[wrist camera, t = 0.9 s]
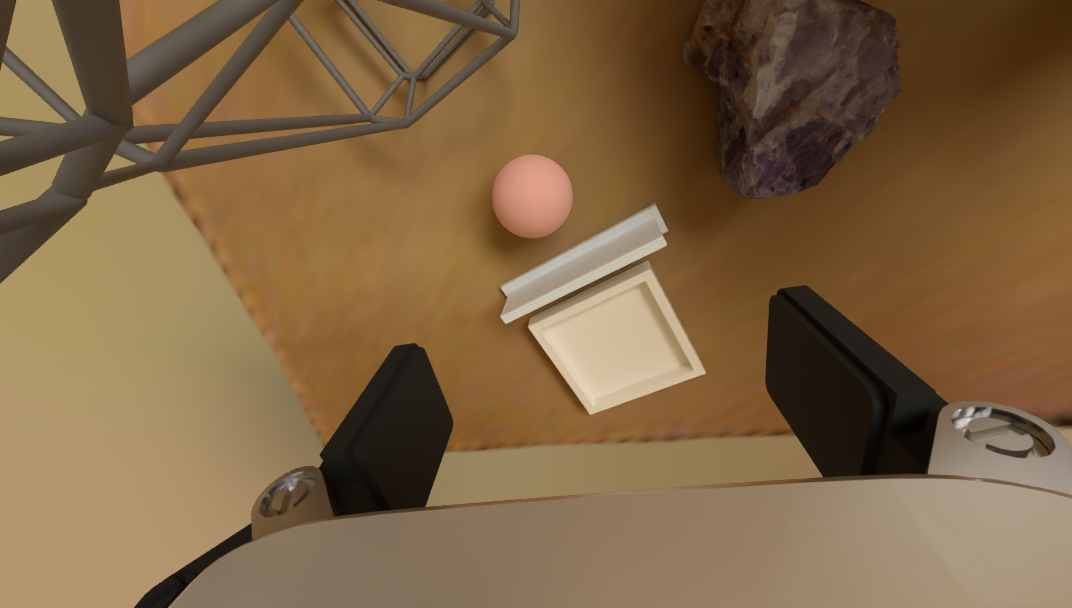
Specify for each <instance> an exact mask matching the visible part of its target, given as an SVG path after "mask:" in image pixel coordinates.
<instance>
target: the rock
mask: <svg viewBox="0 0 1072 608" xmlns="http://www.w3.org/2000/svg"><path fill="white" fill-rule="evenodd" d="M895 24H896V19H895V18H894V17H893V16H892V15H891V14H889V13H887V12H885V11H882V10H879V9H876V8H874V7H872V6H870V5H868V4H866V3H864V2H862V1H860V0H706V1H705V2H704V4H703V5H702V7H701V11H700V14H699V16H698V19H697V21H696V24H695V26H694V31H693V33H692V35H691V37H690V38H689V39H688V40H687V42H686V43H685V44H684V45H683V48H684V50H683V58H684V61H685V64H686V65H687V66H691V67H693V68H695V69H697V70H699V71H701V72H703V73H705V74H706V75H708V77H709V79H711V80H713V81H715V82H717V83H718V84H719V90H720V101H719V107H718V110H717V115H716V119H717V122H718V125H719V129H720V132H721V133H720V142H719V144H718V145H717V156H718V160H719V171H720V173H721V176H722V177H723V178H724V179H725V181H726V182H727V184H728V186H729V187H731V188H732V190H733V191H734V192H735V193H739V194H740V195H743V196H747V197H751V198H754V199H762V200H767V199H769V198H771V197H773V196H782V195H789V194H793V193H797V192H800V191H803V190H805V189H807V188H810V187H812V186H815V185H817V184H818V183H819V182H820V181H821V180H822V179H823V178H824V177H825V175H826V174H827V173H828V171H829V170H830V169H831V168H832V166H833V165H834V164H835V163H838V162H840V161H841V160H843V159H844V157H845V155H846V153H847V152H848V151H849V150H850V149H851V147H852V146H853V145H854V144H856V143H857V142H858V141H860V140H863V139H865V138H866V137H867V136H868V134H869V133H870V132H871V131H872V129H873V128H874V126H875V125H876V123H877V122H878V120H879V119H880V117H881V115H882V114H883V112H884V110H885V109H886V107H887V106H888V104H889V103H890V101H891V100H892V99H893V98H894V97H895V96H896V95H898V94H899V93H900V92H901V91H902V89H901V81H900V76H899V75H898V74H897V71H898V69H899V66H898V65H897V59H898V56H897V50H898V48H899V46H900V45H899V42H898V40H897V39H896V38H895V34H896V31H897V29H895Z"/></svg>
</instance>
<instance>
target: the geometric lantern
mask: <svg viewBox="0 0 1072 608" xmlns="http://www.w3.org/2000/svg"><path fill="white" fill-rule="evenodd" d="M302 1H303V0H219V1H217V2H216V3H214V4H213V5H211V6H210V7H208V8H206V9H205V10H203V11H202V12H200V13H199V14H197V15H196V16H194V17H192V18H191V19H189V20H188V21H186V22H185V23H183V24H182V25H180V26H179V27H177V28H175V29H174V30H172V31H171V32H169V33H168V34H166V35H165V36H163V37H162V38H160V39H158V40H157V41H155V42H154V43H152V44H151V45H149V46H148V47H146V48H144V49H143V50H141V51H140V52H138V53H137V54H135V55H134V56H132V57H131V58H129V59H127V60H126V54H125V46H124V37H123V29H122V20H121V12H120V3H119V0H52V2H53V6H54V9H55V12H56V15H57V18H58V21H59V24H60V27H61V30H62V34H63V37H64V40H65V43H66V46H67V49H68V52H69V55H70V58H71V61H72V64H73V67H74V71H75V74H76V77H77V80H78V83H79V86H80V89H81V92H82V95H83V98H84V101H85V105H86V110H85V112H84V114H83V116H82V117H81V116H80V115H79V114H78V113H77V112H76V111H75V110H74V109H72V108H71V107H70V106H69V105H68V104H67V103H66V102H65V101H64V100H63V99H62V98H61V97H60V96H59V95H58V94H56V93H55V92H54V91H53V90H52V89H51V88H50V87H49V86H48V85H47V84H46V83H45V82H44V81H43V80H42V79H41V78H39V77H38V76H37V75H36V74H35V73H34V72H33V71H32V70H31V69H30V68H29V67H28V66H27V65H26V64H24V63H23V62H22V61H21V60H20V59H19V58H18V57H17V56H16V55H15V54H14V53H13V52H12V51H11V50H10V49H8V48H7V47H6V43H7V39H8V35H9V30H10V25H11V21H12V17H13V12H14V8H15V4H16V0H0V69H1V65H2V62H3V63H4V64H5V65H6V66H7V67H8V68H9V69H11V70H12V71H13V72H14V73H15V74H16V75H17V76H18V77H19V78H20V79H21V80H23V81H24V82H25V83H26V84H27V85H28V86H29V87H30V88H31V89H32V90H34V92H36V93H37V94H38V95H39V96H40V97H41V98H42V99H43V100H44V101H45V102H46V103H47V104H49V105H50V106H51V107H52V108H53V109H54V110H55V111H56V112H57V113H58V114H59V115H60V116H62V117H63V118H64V119H65V120H66V121H67V122H66V123H62V124H60V123H50V122H42V121H32V120H24V119H15V118H6V117H0V135H2V136H14V138H11V139H7V140H4V141H0V176H2V175H5V174H8V173H11V172H14V171H17V170H19V169H22V168H25V167H28V166H31V165H34V164H37V163H40V162H43V161H45V160H49V159H51V158H54V157H57V156H60V155H63V154H65V156H64V158H63V160H62V162H61V165H60V167H59V169H58V171H57V174H56V176H55V178H54V180H53V182H52V186H51V187H50V188H49V189H47V190H46V191H45V192H44V193H43V194H42V195H41V196H40V197H39V198H37V199H36V200H32V201H29V202H26V203H23V204H20V205H17V206H13V207H11V208H7V209H4V210H1V211H0V283H1V282H2V281H3V280H4V279H6V278H7V277H8V276H9V275H10V274H11V273H12V272H13V271H14V270H15V269H17V268H18V267H19V266H20V265H21V264H22V263H23V262H24V261H25V260H26V259H28V258H29V256H31V255H32V254H33V253H34V252H35V251H36V250H37V249H38V248H40V247H41V246H42V245H43V244H44V243H45V242H46V241H47V240H48V239H49V238H51V237H52V236H53V235H54V234H55V233H56V232H57V231H58V230H59V229H60V228H61V227H62V226H64V225H65V224H66V223H67V222H68V221H69V220H70V219H71V218H72V217H73V216H75V215H76V214H77V213H78V212H79V211H80V210H81V209H82V208H83V207H84V206H85V205H86V204H87V199H88V198H89V197H90V196H91V194H92V192H93V191H95V190H98V189H102V188H104V187H108V186H111V185H114V184H117V183H120V182H123V181H126V180H130V179H133V178H136V177H139V176H142V175H145V174H148V173H151V172H154V171H157V172H168V171H174V170H179V169H184V168H190V167H195V166H201V165H206V164H211V163H217V162H222V161H227V160H233V159H238V158H243V157H249V156H254V155H260V154H265V153H270V152H276V151H281V150H287V149H292V148H298V147H303V146H308V145H314V144H319V143H325V142H330V141H335V140H341V139H346V138H352V137H357V136H363V135H368V134H373V133H379V132H384V131H390V130H396V129H402V128H408V127H410V126H411V125H412V124H413V123H415V122H416V121H417V120H418V119H419V118H421V117H422V116H423V115H424V114H425V113H426V112H428V111H429V110H430V109H431V108H432V107H434V106H435V105H436V104H437V103H438V102H440V101H441V100H442V99H443V98H444V97H446V96H447V95H448V94H449V93H450V92H452V91H453V90H454V89H455V88H456V87H458V86H459V85H460V84H461V83H462V82H463V81H465V80H466V79H467V78H468V77H469V76H471V75H472V74H473V73H474V72H475V71H477V70H478V69H479V68H480V67H481V66H483V65H484V64H485V63H486V62H487V61H489V60H490V59H491V58H492V57H493V56H494V55H496V54H497V53H498V52H499V51H500V50H502V49H503V48H504V47H505V46H506V45H508V44H509V43H510V42H511V41H512V40H514V39H515V37H516V35H517V32H518V25H519V9H520V0H511V6H510V21H509V20H507V19H506V18H505V17H504V16H503V15H502V14H501V13H500V12H499V11H498V10H497V9H496V8H495V7H494V6H493V5H494V0H477V1H476V2H475V4H474V5H473V6H472V7H471V8H470V9H469V11H468V12H466V11H464V10H461V9H459V8H456V7H453V6H451V5H448V4H446V3H443V2H440V1H438V0H378V1H381V2H384V3H388V4H391V5H394V6H398V7H401V8H405V9H408V10H411V11H415V12H418V13H422V14H425V15H429V16H432V17H435V18H439V19H442V20H446V21H449V22H452V23H456V25H455V27H454V28H453V29H452V30H451V31H450V32H449V34H448V35H447V36H446V37H445V38H444V39H443V40H442V42H441V43H440V44H439V45H438V46H437V47H436V48H435V50H434V51H433V52H432V53H431V54H430V55H429V57H428V58H427V59H426V60H425V61H424V62H423V63H422V65H421V66H420V67H419V68H418V69H417V70H416V71H415V72H414V73H412V72H411V71H410V70H409V68H408V67H407V66H406V65H405V63H404V62H403V61H402V60H401V58H400V57H399V56H398V55H397V53H396V52H395V51H394V50H393V49H392V47H391V46H390V45H389V44H388V42H387V41H386V40H385V39H384V37H383V36H382V35H381V34H380V32H379V31H378V30H377V29H376V27H375V26H374V25H373V24H372V22H371V21H370V20H369V19H368V17H367V16H366V15H365V14H364V12H363V11H362V10H361V9H360V7H359V6H358V5H357V4H356V2H355V1H354V0H347V1H348V2H349V3H350V5H351V6H352V7H353V8H354V10H355V11H356V12H357V13H358V14H359V16H360V17H361V18H362V19H363V21H364V22H365V23H366V24H367V26H368V27H369V28H370V29H371V31H372V32H373V33H374V34H375V35H376V37H377V38H378V39H379V40H380V42H381V43H382V44H383V45H384V47H385V48H386V49H387V50H388V52H389V53H390V54H391V55H392V57H393V58H394V59H395V60H396V61H397V63H398V64H399V65H400V66H401V68H402V69H403V70H404V71H405V72H402V71H401V69H400V68H399V67H398V66H397V65H396V64H395V62H394V61H393V60H392V59H391V58H390V56H389V55H388V54H387V53H386V52H385V50H384V49H383V48H382V47H381V46H380V45H379V43H378V42H377V41H376V40H375V39H374V37H373V36H372V35H371V34H370V33H369V31H368V30H367V29H366V28H365V27H364V26H363V24H362V23H361V22H360V21H359V20H358V18H357V17H356V16H355V15H354V14H353V12H352V11H351V10H350V9H349V8H348V7H347V5H346V4H345V3H344V2H343V1H342V0H335V1H336V2H337V3H338V5H339V6H340V7H341V8H342V9H343V10H344V12H345V13H346V14H347V15H348V16H349V17H350V19H351V20H352V21H353V22H354V23H355V25H356V26H357V27H358V28H359V29H360V30H361V32H362V33H363V34H364V35H365V36H366V37H367V39H368V40H369V41H370V42H371V43H372V45H373V46H374V47H375V48H376V49H377V50H378V52H379V53H380V54H381V55H382V56H383V58H384V59H385V60H386V61H387V62H388V63H389V65H390V66H391V67H392V68H393V69H394V70H395V72H396V73H397V74H398V75H399V76H398V78H397V79H396V80H395V81H394V83H393V84H392V85H391V86H390V88H389V89H388V90H387V91H386V93H385V94H384V95H383V96H382V98H381V99H380V100H379V101H378V102H377V104H376V105H375V106H374V107H373V109H372V110H371V111H369V110H368V109H367V107H366V106H365V105H364V103H363V102H362V101H361V100H360V98H359V97H358V96H357V94H356V93H355V92H354V90H353V89H352V88H351V87H350V85H349V84H348V83H347V81H346V80H345V79H344V78H343V76H342V75H341V74H340V72H339V71H338V70H337V68H336V67H335V66H334V65H333V63H332V62H331V61H330V59H329V58H328V57H327V55H326V54H325V53H324V52H323V50H322V49H321V48H320V46H319V45H318V44H317V43H316V41H315V40H314V39H313V37H312V36H311V35H310V33H309V32H308V31H307V30H306V28H305V27H304V26H303V24H302V23H301V22H300V20H299V19H298V18H297V17H296V15H295V14H294V13H293V12H294V11H295V10H296V9H297V8H298V6H299V5H300V4H301V3H302ZM482 5H483V6H484V8H483V9H482V10H481V11H480V12H479V13H478V15H474V14H475V13H476V12H477V10H478V9H479V8H480V7H481V6H482ZM269 7H271V8H270V9H269V10H268V12H267V13H266V14H265V15H264V17H263V18H262V19H261V20H260V22H259V23H258V24H257V25H256V27H255V28H254V29H253V31H252V32H251V33H250V34H249V36H248V37H247V38H246V39H245V41H244V42H243V43H242V45H241V46H240V47H239V48H238V50H237V51H236V52H235V53H234V55H233V56H232V57H231V59H230V60H229V61H228V62H227V64H226V65H225V66H224V67H223V69H222V70H221V71H220V72H219V74H218V75H217V76H216V78H215V79H214V80H213V81H212V83H211V84H210V85H209V86H208V88H207V89H206V90H205V92H204V93H203V94H202V95H201V97H200V98H199V99H198V100H197V102H196V103H195V104H194V106H193V107H192V108H191V109H190V111H189V112H188V113H187V114H186V116H185V117H184V118H183V119H182V121H181V122H180V123H179V124H163V125H146V126H133V113H132V105H133V104H135V103H136V102H138V101H139V100H140V99H142V98H143V97H145V96H146V95H147V94H149V93H150V92H152V91H153V90H154V89H156V88H157V87H159V86H160V85H161V84H163V83H164V82H166V81H167V80H169V79H170V78H171V77H173V76H174V75H176V74H177V73H178V72H180V71H181V70H183V69H184V68H185V67H187V66H188V65H190V64H191V63H192V62H194V61H195V60H197V59H198V58H199V57H201V56H202V55H204V54H205V53H206V52H208V51H209V50H211V49H212V48H213V47H215V46H216V45H218V44H219V43H220V42H222V41H223V40H225V39H226V38H227V37H229V36H230V35H232V34H233V33H234V32H236V31H237V30H239V29H240V28H241V27H243V26H244V25H246V24H247V23H248V22H250V21H251V20H253V19H254V18H255V17H257V16H258V15H260V14H261V13H262V12H264V11H265V10H267V9H268V8H269ZM488 12H490V13H491V14H493V15H494V16H495V17H496V18H497V19H498V20H499V21H500V22H501V23H502V24H503V25H504V26H502V25H500V24H497V23H495V22H492V21H490V20H487V19H484V18H483V17H484V16H485V15H486V14H487V13H488ZM287 20H289V21H290V23H291V24H292V25H293V27H294V28H295V29H296V30H297V32H298V33H299V34H300V35H301V37H302V38H303V39H304V41H305V42H306V43H307V44H308V46H309V47H310V48H311V50H312V51H313V52H314V53H315V55H316V56H317V57H318V59H319V60H320V61H321V62H322V64H323V65H324V66H325V67H326V69H327V70H328V71H329V73H330V74H331V75H332V76H333V78H334V79H335V80H336V82H337V83H338V84H339V85H340V87H341V88H342V89H343V91H344V92H345V93H346V94H347V96H348V97H349V98H350V99H351V101H352V102H353V103H354V105H355V106H356V107H357V108H358V110H359V111H360V112H361V114H348V115H329V116H311V117H292V118H274V119H255V120H236V121H218V122H204V121H205V119H206V118H207V117H208V116H209V114H210V113H211V112H212V111H213V110H214V108H215V107H216V106H217V105H218V104H219V102H220V101H221V100H222V99H223V97H224V96H225V95H226V94H227V93H228V91H229V90H230V89H231V88H232V87H233V85H234V84H235V83H236V82H237V80H238V79H239V78H240V77H241V76H242V74H243V73H244V72H245V71H246V70H247V68H248V67H249V66H250V65H251V63H252V62H253V61H254V60H255V59H256V57H257V56H258V55H259V54H260V52H261V51H262V50H263V49H264V48H265V46H266V45H267V44H268V43H269V42H270V40H271V39H272V38H273V37H274V35H275V34H276V33H277V32H278V31H279V29H280V28H281V27H282V26H283V25H284V23H285V22H286V21H287ZM463 26H466V28H465V29H464V30H463V31H462V32H461V33H460V34H459V35H458V36H457V37H456V39H455V40H454V41H453V42H452V43H451V44H450V45H449V46H448V47H447V48H446V49H445V51H444V52H443V53H442V54H441V55H440V56H439V57H438V58H437V59H436V60H435V61H434V63H433V64H432V65H431V66H430V67H429V68H428V69H427V70H426V71H425V69H426V68H427V67H428V66H429V65H430V64H431V63H432V62H433V60H434V59H435V58H436V57H437V56H438V55H439V54H440V52H441V51H442V50H443V49H444V48H445V47H446V46H447V44H448V43H449V42H450V41H451V40H452V39H453V38H454V37H455V35H456V34H457V33H458V32H459V31H460V30H461V29H462V27H463ZM472 29H476V30H480V31H483V32H486V33H490V34H493V35H497V36H500V38H499V39H498V40H497V41H495V42H494V43H493V44H492V45H491V46H490V47H488V48H487V49H486V50H485V51H484V52H483V53H481V54H480V55H479V56H478V57H477V58H476V59H474V60H473V61H472V62H471V63H470V64H469V65H467V66H466V67H465V68H464V69H463V70H462V71H460V72H459V73H458V74H457V75H456V76H454V77H453V78H452V79H451V80H450V81H449V82H447V83H446V84H445V85H444V86H443V87H442V88H440V89H439V90H438V91H437V92H436V93H435V94H433V95H432V96H431V97H430V98H429V99H428V100H426V101H425V102H424V103H423V104H422V105H421V106H419V107H418V108H417V109H416V110H415V111H413V112H412V113H411V109H412V103H413V97H414V91H415V85H416V80H417V79H424V78H428V77H429V76H430V74H431V73H432V72H433V71H434V70H435V69H436V68H437V67H438V66H439V64H440V63H441V62H442V61H443V60H444V59H445V58H446V57H447V56H448V55H449V54H450V53H451V52H452V50H453V49H454V48H455V47H456V46H457V45H458V44H459V43H460V42H461V41H462V40H463V39H464V38H465V36H466V35H467V34H468V33H469V32H470V31H471V30H472ZM404 79H405V80H411V81H410V87H409V92H408V98H407V104H406V110H405V116H404V119H395V118H388V117H382V116H376V114H377V112H378V111H379V110H380V109H381V107H382V106H383V105H384V104H385V102H386V101H387V100H388V99H389V97H390V96H391V95H392V94H393V92H394V91H395V90H396V89H397V87H398V86H399V85H400V84H401V82H402V81H403V80H404ZM363 122H371V123H373V124H366V125H359V126H352V127H345V128H338V129H331V130H324V131H317V132H310V133H303V134H296V135H289V136H282V137H275V138H268V139H261V140H254V141H247V142H240V143H233V144H226V145H219V146H212V147H205V148H198V149H191V150H184V151H180V150H181V148H182V147H183V146H184V145H185V144H186V142H187V141H188V140H189V139H193V138H204V137H215V136H225V135H236V134H247V133H258V132H268V131H279V130H290V129H300V128H311V127H322V126H333V125H343V124H353V123H363ZM161 141H165V142H164V144H163V145H162V146H161V147H160V149H159V150H158V151H157V153H153V152H151V151H148V150H146V149H144V148H142V147H140V146H138V145H136V144H140V143H151V142H161ZM114 154H117V155H119V156H121V157H124V158H126V159H128V160H130V161H132V162H135V163H136V164H135V165H131V166H128V167H124V168H119V169H115V170H111V171H107V172H104V171H105V169H106V168H107V166H108V164H109V162H110V160H111V159H112V157H113V155H114Z"/></svg>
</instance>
